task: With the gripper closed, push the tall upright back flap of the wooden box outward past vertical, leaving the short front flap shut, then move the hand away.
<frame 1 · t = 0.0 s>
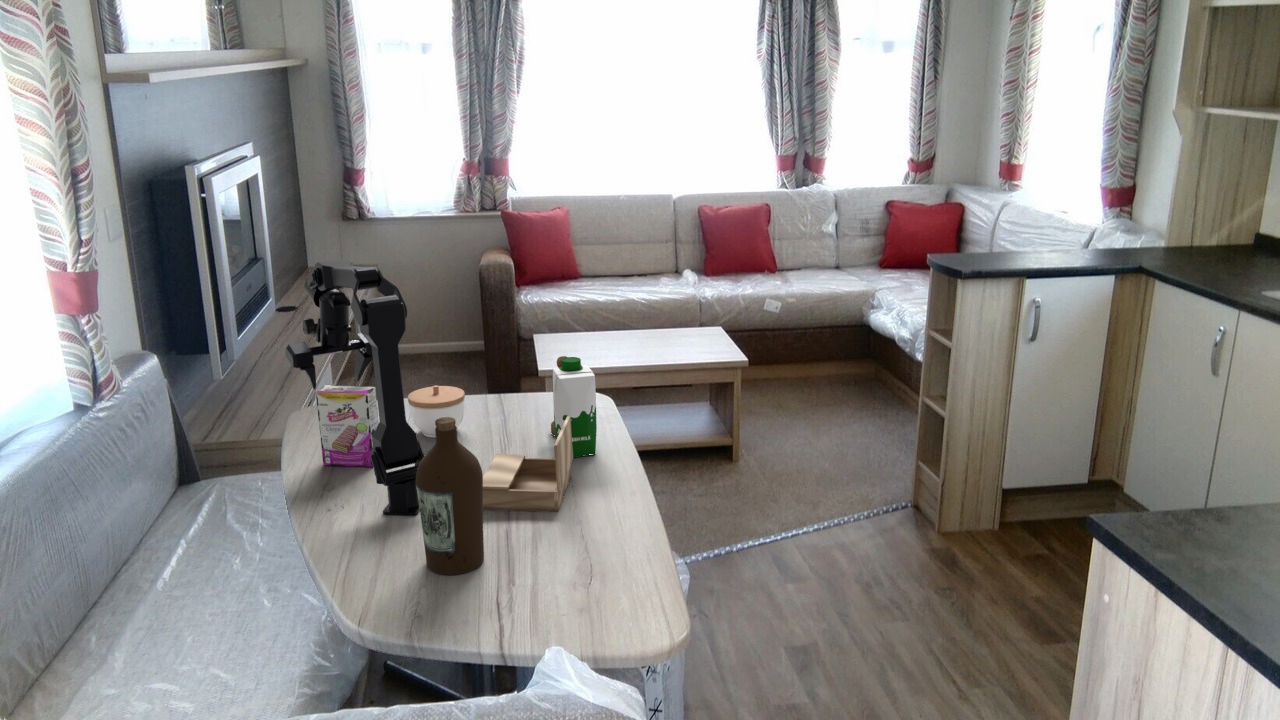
hand: (335, 384, 201), 15 cm above the table, tool pointing down, fingers open, 9 cm apart
back flap: (564, 452, 181), point 9 cm above the table, hinge at 88.0°
candy bar box: (353, 463, 200), on the table
mortar and pestle: (565, 433, 216), on the table
wooden box: (526, 492, 184), on the table
milk carton: (576, 452, 205), on the table
lidded bowl: (439, 433, 217), on the table
front flap: (502, 471, 183), point 4 cm above the table, hinge at 0.0°
olive oil: (455, 562, 158), on the table
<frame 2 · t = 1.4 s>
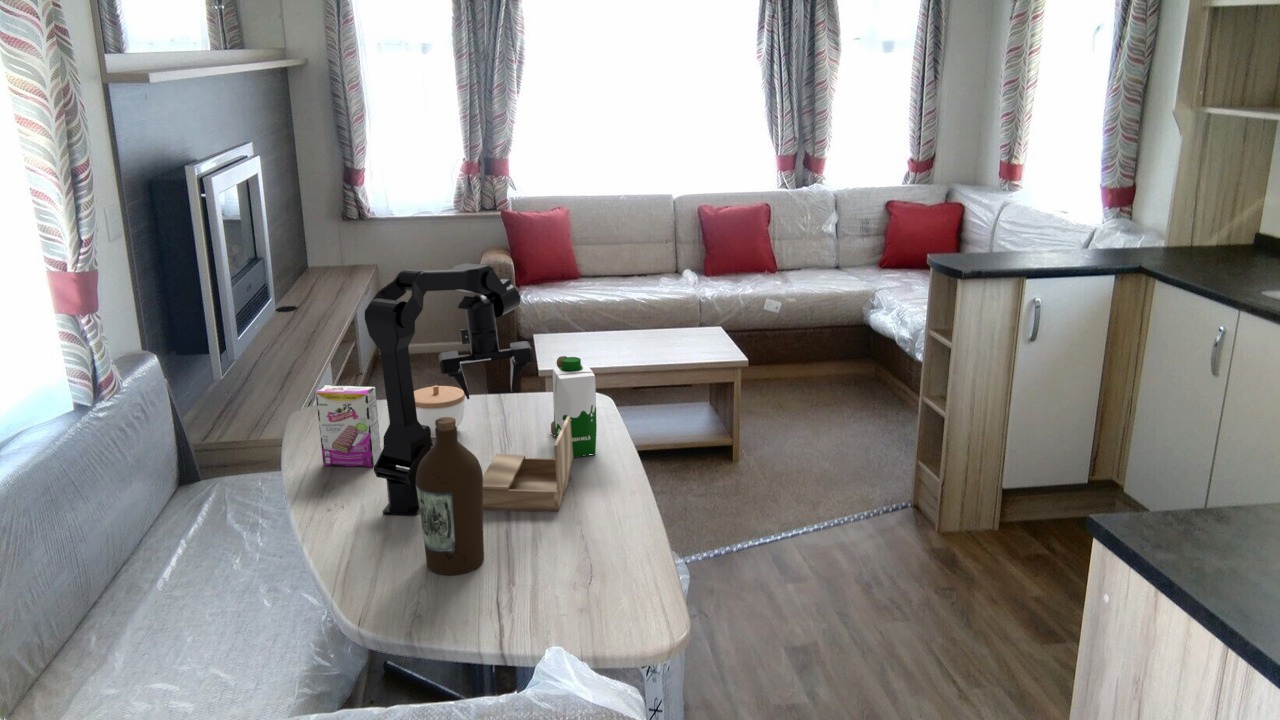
hand: (490, 395, 198), 14 cm above the table, tool pointing down, fingers open, 9 cm apart
nothing on the table moved.
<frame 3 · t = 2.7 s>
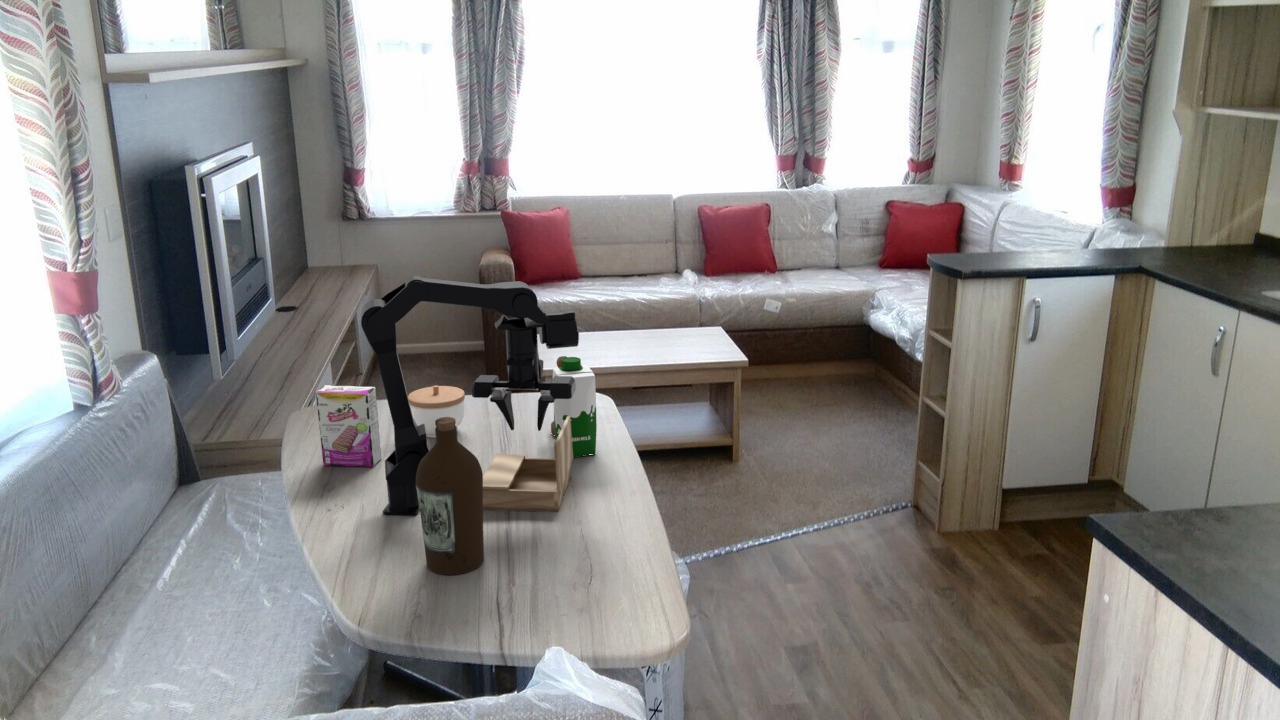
hand: (526, 429, 181), 13 cm above the table, tool pointing down, fingers open, 5 cm apart
nothing on the table moved.
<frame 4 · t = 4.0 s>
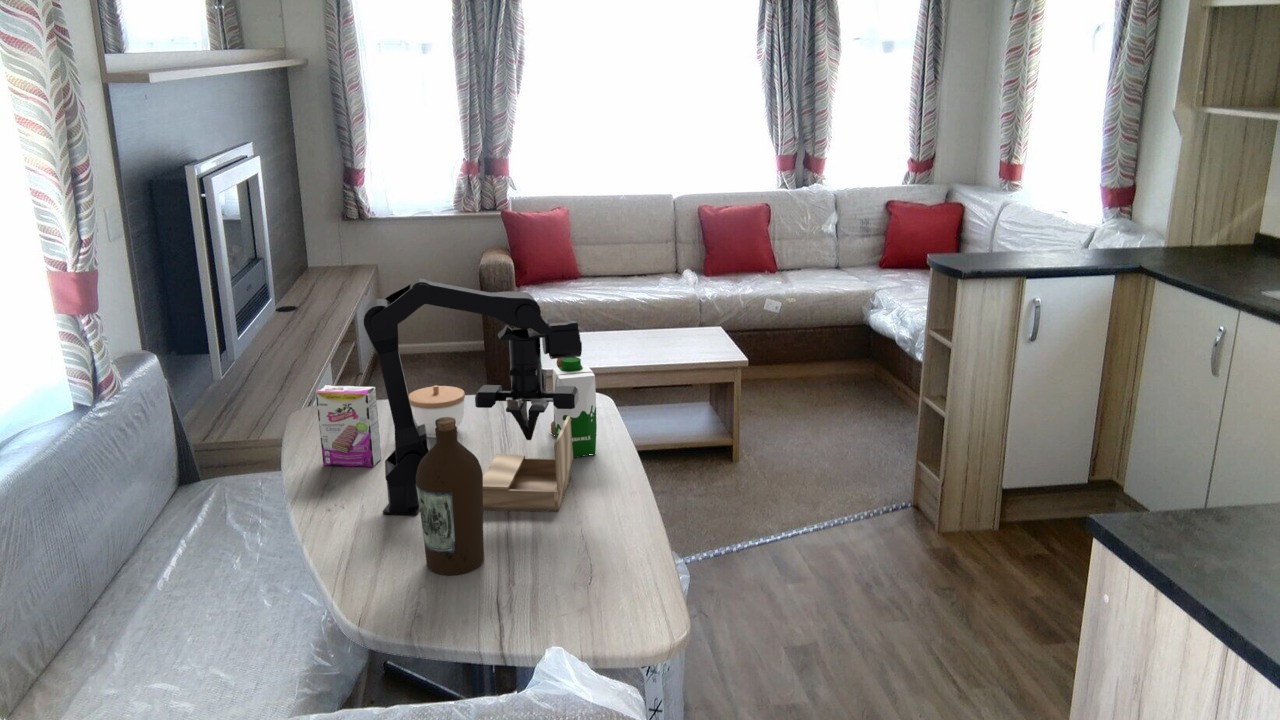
hand: (529, 439, 181), 11 cm above the table, tool pointing down, fingers closed
nothing on the table moved.
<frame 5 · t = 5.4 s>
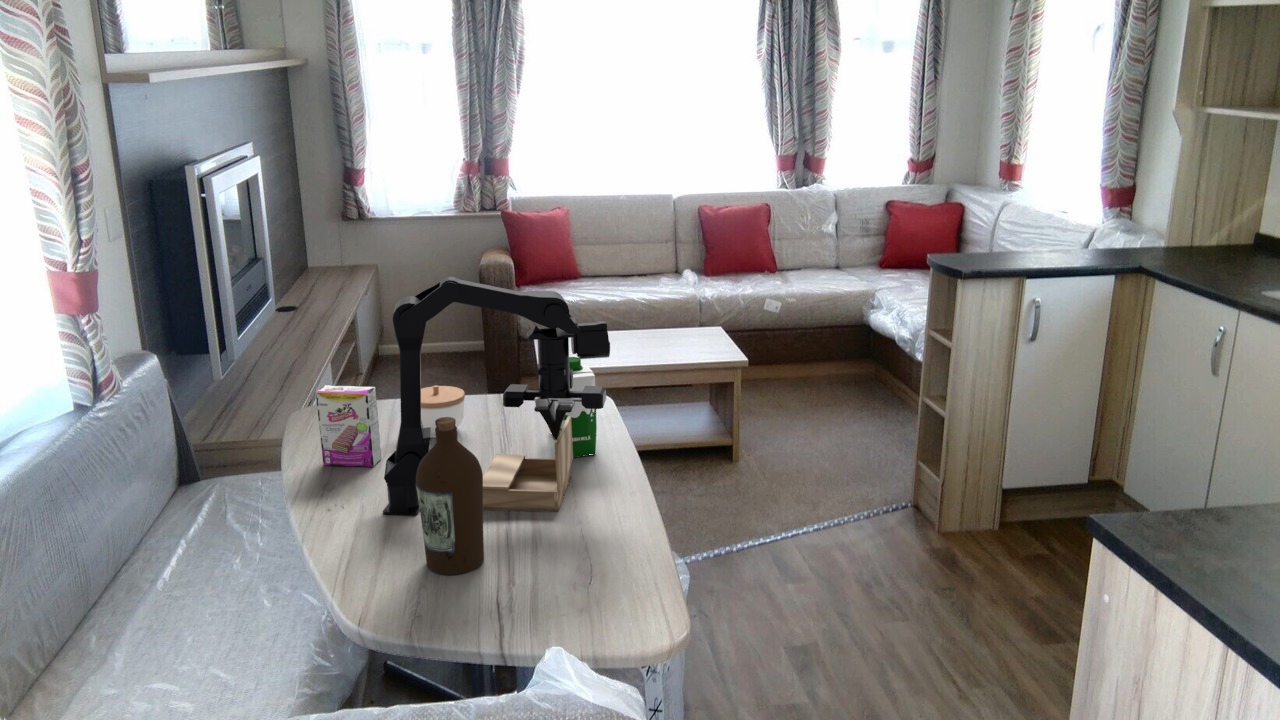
hand: (556, 439, 181), 11 cm above the table, tool pointing down, fingers closed
back flap: (564, 452, 181), point 9 cm above the table, hinge at 88.9°, touching gripper
everything else where it was.
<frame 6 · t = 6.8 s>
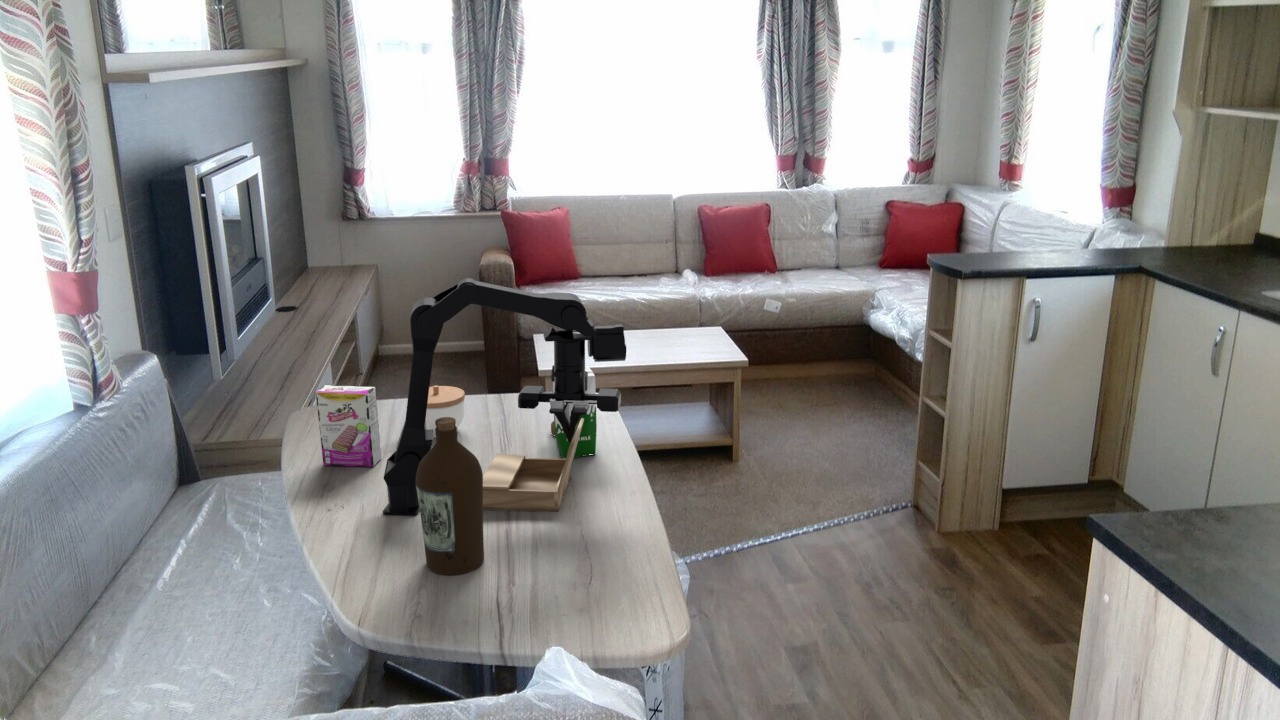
hand: (570, 441, 180), 11 cm above the table, tool pointing down, fingers closed
back flap: (571, 453, 181), point 8 cm above the table, hinge at 105.9°, touching gripper
everything else where it was.
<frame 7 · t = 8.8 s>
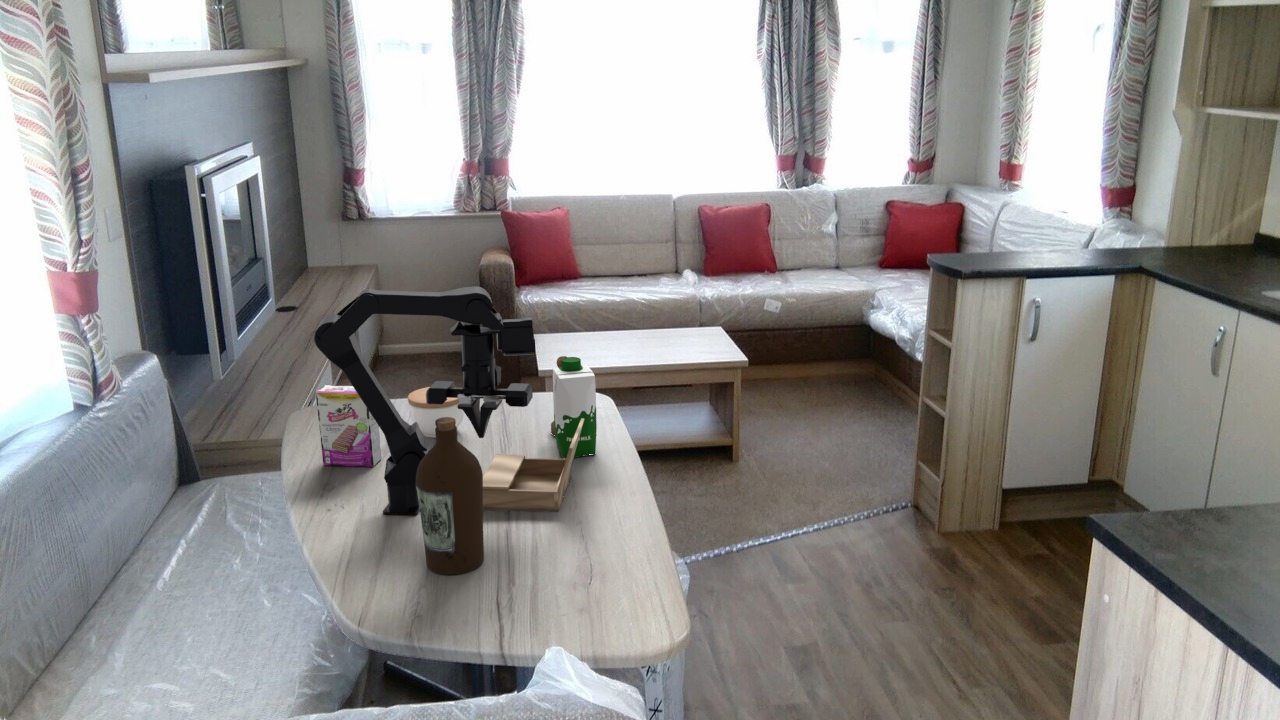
hand: (481, 437, 178), 13 cm above the table, tool pointing down, fingers closed
back flap: (571, 453, 181), point 8 cm above the table, hinge at 106.3°
everything else where it was.
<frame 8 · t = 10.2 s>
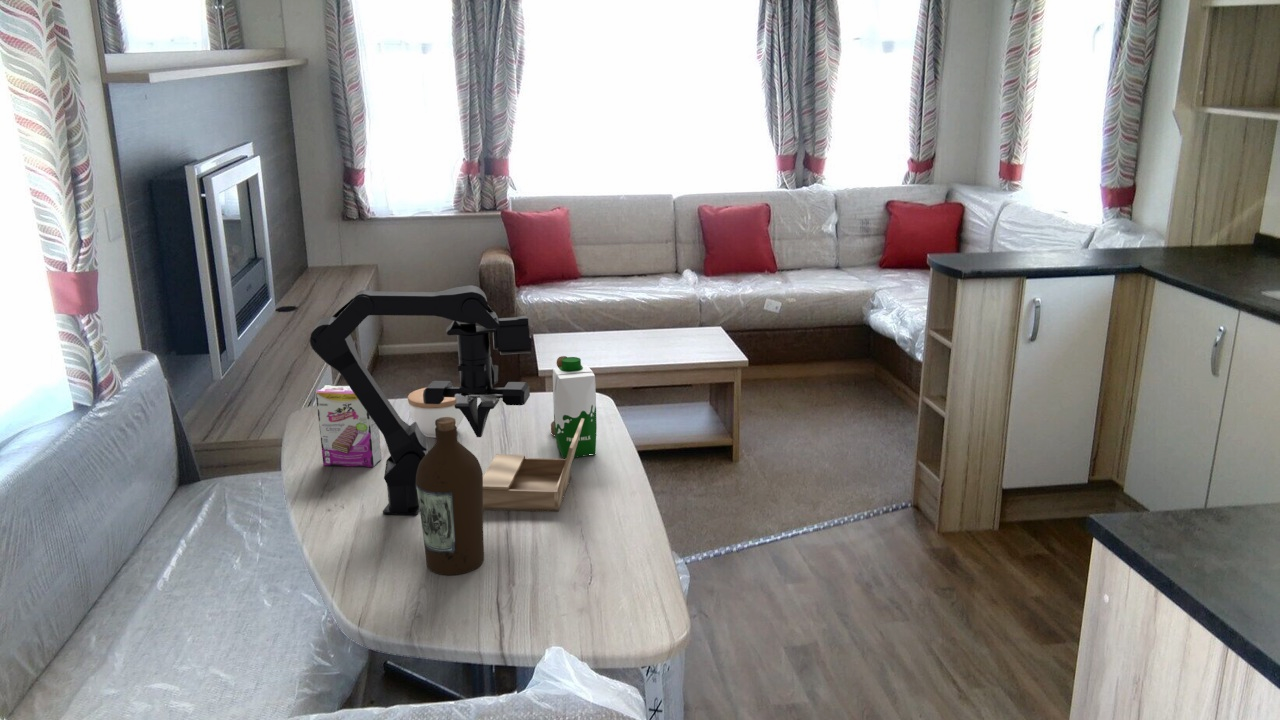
hand: (479, 436, 177), 13 cm above the table, tool pointing down, fingers closed
nothing on the table moved.
at the end: back flap at +106° (first picture: +88°); the gripper is holding nothing; front flap at +0° (first picture: +0°) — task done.
